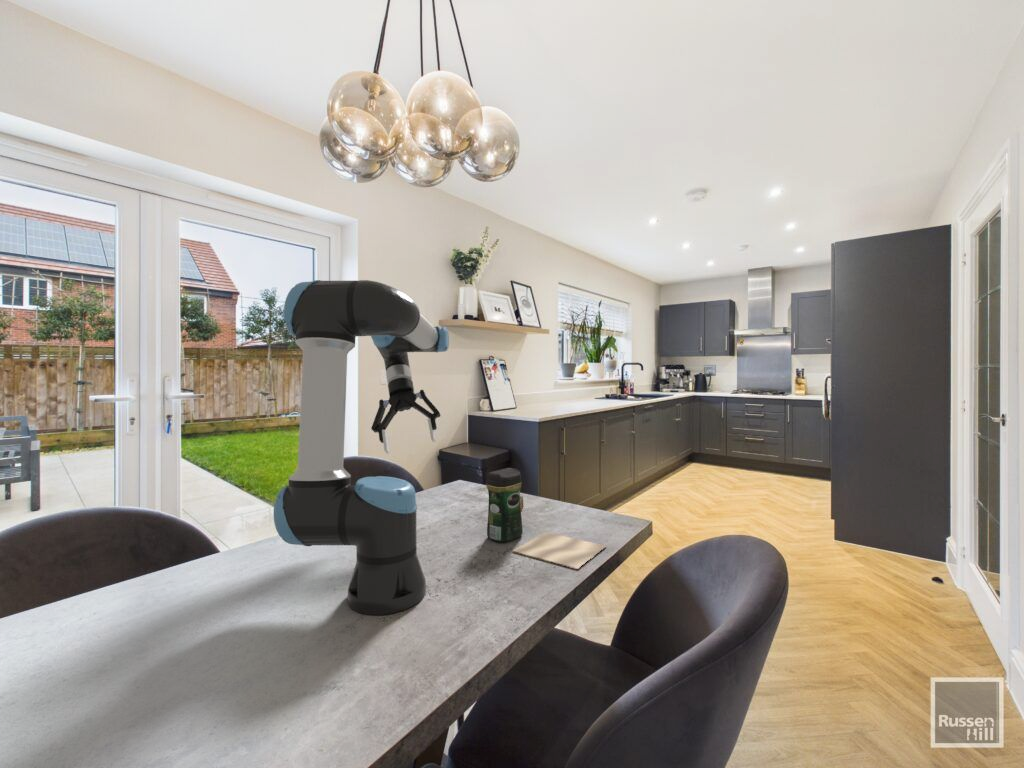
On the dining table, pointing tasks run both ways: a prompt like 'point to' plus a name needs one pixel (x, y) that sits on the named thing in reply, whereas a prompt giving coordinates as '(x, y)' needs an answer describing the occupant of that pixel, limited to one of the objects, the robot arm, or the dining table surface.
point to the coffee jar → (504, 505)
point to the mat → (560, 550)
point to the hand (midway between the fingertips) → (410, 446)
